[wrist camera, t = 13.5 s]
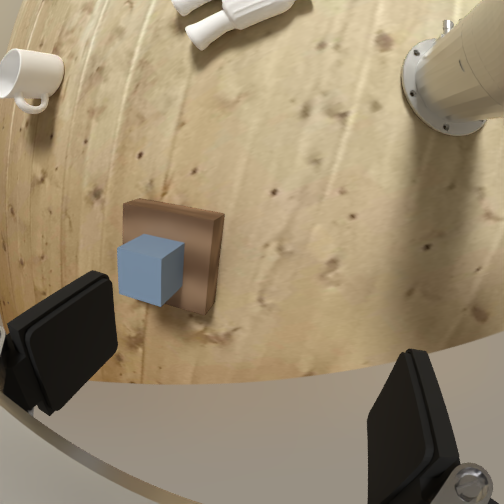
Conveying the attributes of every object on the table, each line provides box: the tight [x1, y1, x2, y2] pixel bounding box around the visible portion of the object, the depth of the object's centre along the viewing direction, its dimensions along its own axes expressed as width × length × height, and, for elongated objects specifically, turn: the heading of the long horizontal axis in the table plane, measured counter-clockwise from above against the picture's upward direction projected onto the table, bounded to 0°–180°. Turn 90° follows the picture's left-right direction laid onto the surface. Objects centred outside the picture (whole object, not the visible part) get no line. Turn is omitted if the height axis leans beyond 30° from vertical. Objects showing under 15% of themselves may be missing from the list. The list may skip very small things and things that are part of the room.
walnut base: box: [123, 198, 224, 315], centre depth 42 cm, size 13×13×4 cm
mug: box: [0, 49, 64, 114], centre depth 35 cm, size 12×8×10 cm
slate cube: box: [117, 234, 185, 307], centre depth 37 cm, size 6×6×6 cm
